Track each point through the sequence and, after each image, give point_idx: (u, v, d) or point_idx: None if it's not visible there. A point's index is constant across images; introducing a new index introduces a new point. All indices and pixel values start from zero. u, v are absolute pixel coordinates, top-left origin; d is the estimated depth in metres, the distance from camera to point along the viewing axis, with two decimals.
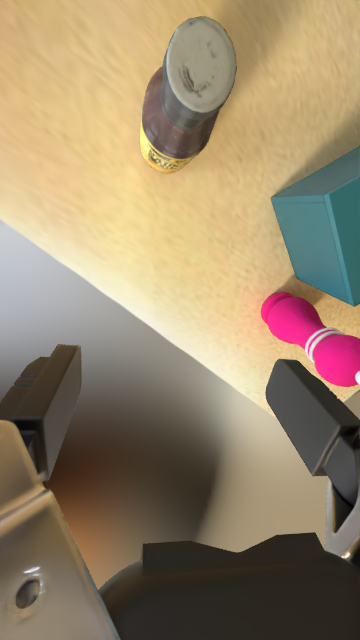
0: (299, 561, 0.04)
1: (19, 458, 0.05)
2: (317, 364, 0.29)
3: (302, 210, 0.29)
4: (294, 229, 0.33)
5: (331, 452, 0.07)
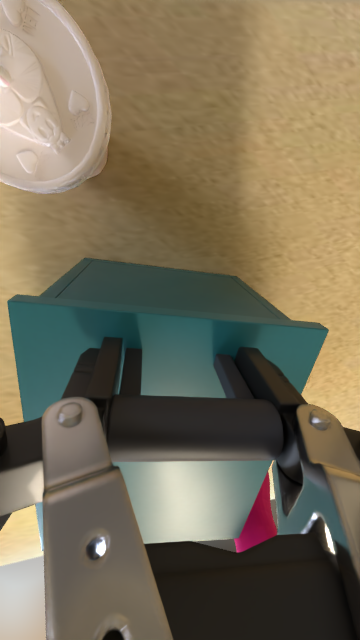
0: (299, 561, 0.04)
1: (96, 433, 0.05)
2: None
3: None
4: None
5: None
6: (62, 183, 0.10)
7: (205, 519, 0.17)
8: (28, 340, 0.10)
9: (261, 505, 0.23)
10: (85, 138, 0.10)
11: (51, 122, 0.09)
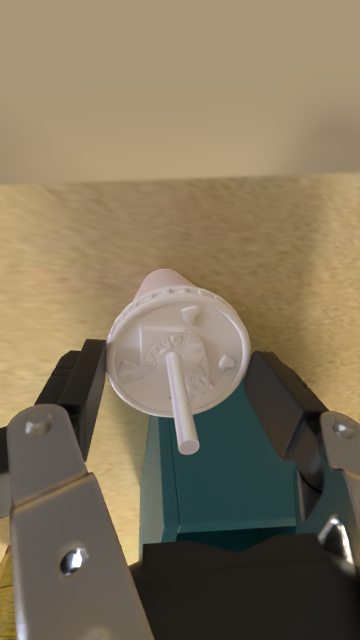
0: (299, 561, 0.04)
1: (68, 440, 0.05)
2: None
3: None
4: None
5: (296, 437, 0.08)
6: (201, 411, 0.12)
7: None
8: None
9: None
10: (227, 382, 0.11)
11: (204, 379, 0.11)
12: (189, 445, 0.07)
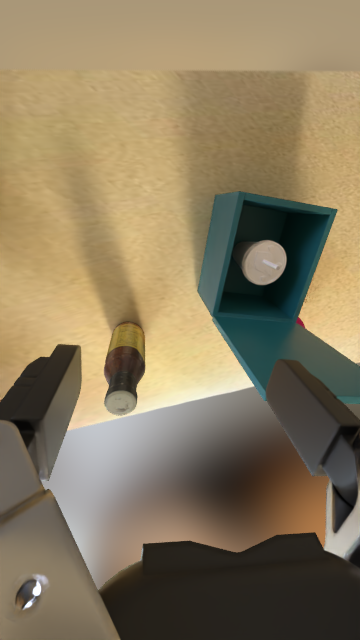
0: (299, 561, 0.04)
1: (19, 458, 0.05)
2: None
3: None
4: None
5: (331, 452, 0.07)
6: (269, 283, 0.37)
7: None
8: None
9: None
10: (278, 272, 0.36)
11: (272, 269, 0.36)
12: (277, 268, 0.32)
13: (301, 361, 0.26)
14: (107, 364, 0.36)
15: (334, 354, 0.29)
